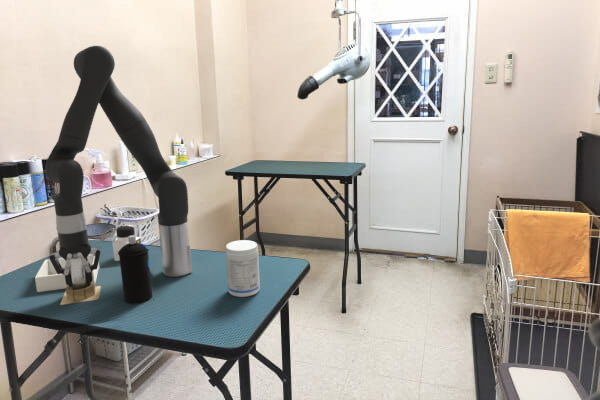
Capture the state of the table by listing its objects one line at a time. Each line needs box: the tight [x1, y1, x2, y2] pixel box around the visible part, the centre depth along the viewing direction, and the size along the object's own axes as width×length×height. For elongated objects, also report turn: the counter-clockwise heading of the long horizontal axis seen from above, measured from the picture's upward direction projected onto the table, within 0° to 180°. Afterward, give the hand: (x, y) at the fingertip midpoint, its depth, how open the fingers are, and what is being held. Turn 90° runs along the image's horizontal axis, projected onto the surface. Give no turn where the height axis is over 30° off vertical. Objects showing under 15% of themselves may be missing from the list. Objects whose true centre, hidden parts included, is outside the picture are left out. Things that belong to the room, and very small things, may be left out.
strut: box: [69, 253, 89, 290], centre depth 139 cm, size 5×5×14 cm
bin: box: [34, 253, 101, 293], centre depth 152 cm, size 16×16×6 cm
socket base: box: [59, 281, 102, 306], centre depth 140 cm, size 10×10×4 cm
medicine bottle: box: [111, 224, 142, 262], centre depth 172 cm, size 7×7×12 cm
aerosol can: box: [118, 234, 155, 305], centre depth 135 cm, size 8×8×20 cm
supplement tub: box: [225, 239, 261, 298], centre depth 142 cm, size 10×10×15 cm
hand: (80, 284), depth 140 cm, fingers closed on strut, 4 cm apart
